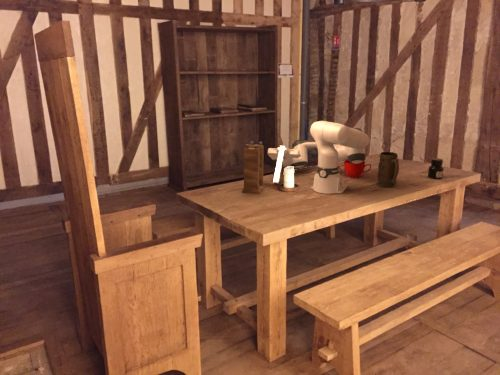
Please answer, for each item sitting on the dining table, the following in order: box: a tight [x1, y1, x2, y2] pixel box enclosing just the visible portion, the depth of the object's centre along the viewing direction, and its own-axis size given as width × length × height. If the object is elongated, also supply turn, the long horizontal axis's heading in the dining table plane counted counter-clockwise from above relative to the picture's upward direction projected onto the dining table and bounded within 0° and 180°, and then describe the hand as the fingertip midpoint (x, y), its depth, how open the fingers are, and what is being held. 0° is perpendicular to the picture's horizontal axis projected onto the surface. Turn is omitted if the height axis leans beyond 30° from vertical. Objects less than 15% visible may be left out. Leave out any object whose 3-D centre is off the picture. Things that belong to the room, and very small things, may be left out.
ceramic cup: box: [343, 160, 372, 179], centre depth 280 cm, size 13×17×10 cm
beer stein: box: [376, 151, 400, 189], centre depth 258 cm, size 15×11×20 cm
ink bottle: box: [427, 157, 444, 180], centre depth 280 cm, size 10×9×12 cm
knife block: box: [241, 140, 266, 195], centre depth 247 cm, size 13×10×27 cm
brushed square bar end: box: [272, 145, 286, 186], centre depth 268 cm, size 26×3×3 cm
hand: (282, 148), depth 271 cm, fingers closed on brushed square bar end, 3 cm apart
